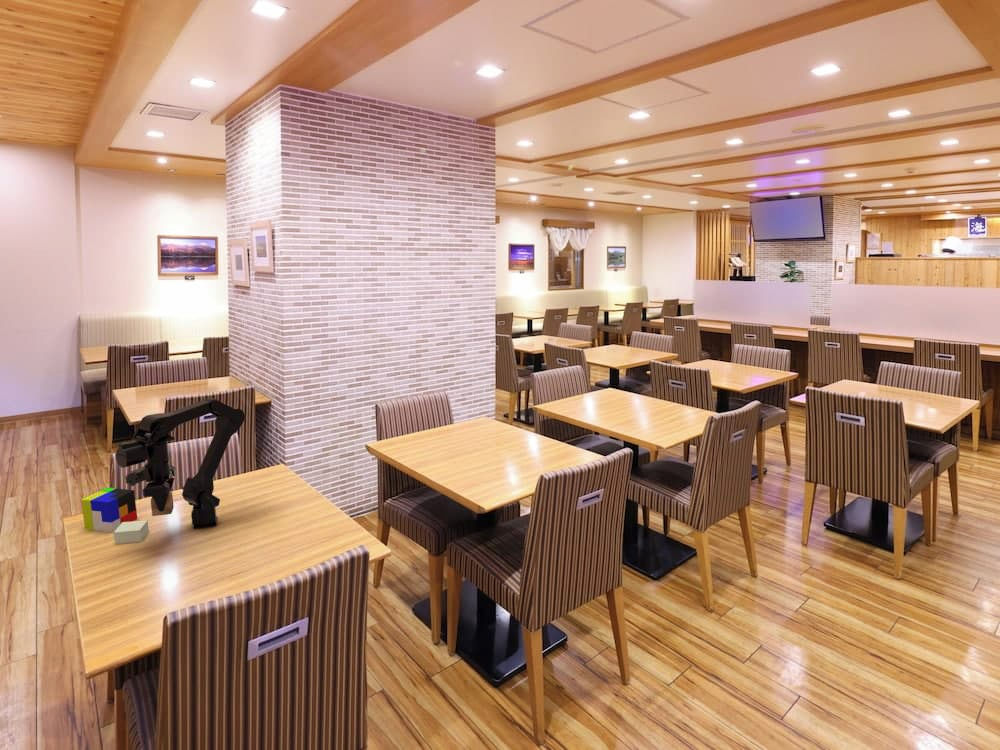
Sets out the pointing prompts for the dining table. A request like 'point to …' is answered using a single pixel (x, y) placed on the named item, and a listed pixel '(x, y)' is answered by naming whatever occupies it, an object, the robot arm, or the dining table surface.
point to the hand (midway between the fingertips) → (162, 507)
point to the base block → (131, 532)
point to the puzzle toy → (109, 509)
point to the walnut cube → (167, 509)
